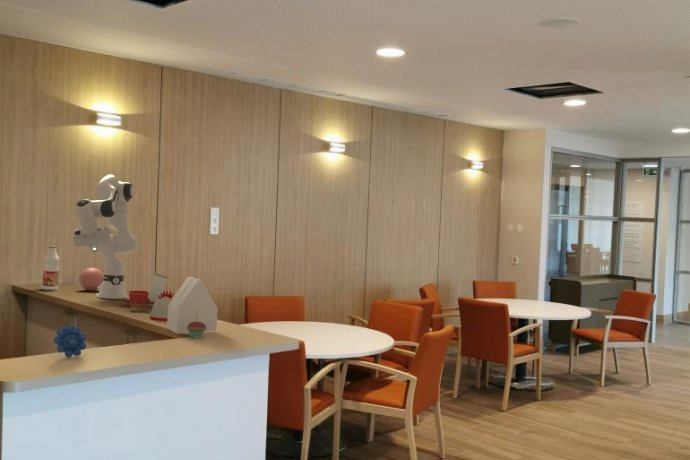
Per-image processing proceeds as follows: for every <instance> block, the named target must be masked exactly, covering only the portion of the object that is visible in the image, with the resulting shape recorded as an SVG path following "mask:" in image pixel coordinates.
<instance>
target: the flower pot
mask: <svg viewBox="0 0 690 460" xmlns="http://www.w3.org/2000/svg"><path fill="white" fill-rule="evenodd" d="M149 293H150V291H146V290H129V291H128V299H130V306H129V307H130V308H131V304H146V303H147V299H148V297H149Z"/></svg>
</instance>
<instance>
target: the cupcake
mask: <svg viewBox="0 0 690 460" xmlns="http://www.w3.org/2000/svg"><path fill="white" fill-rule="evenodd" d="M187 329H188V330H189V332H190V333H189V336H190V338H191V337H201V338H202V336H203V334H204V333H203V332H204V330H206V325H205V324H204V323H201V322H198V312H196V322H191V323H189V325H188V327H187Z"/></svg>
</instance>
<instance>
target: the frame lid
mask: <svg viewBox="0 0 690 460" xmlns="http://www.w3.org/2000/svg"><path fill="white" fill-rule="evenodd" d="M167 280H168V276H167V275H164V274H160V273H158V272H154V273H153V278H152V280H151V285H150V289H149V294H148V298H149V299H150V300H152V301H154V302H156V301H157V300H158V299H159V298H158V295H159V297H161V293H162V295H163V292H164V291H165V286H166V282H167Z"/></svg>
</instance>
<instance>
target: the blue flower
mask: <svg viewBox="0 0 690 460" xmlns="http://www.w3.org/2000/svg"><path fill="white" fill-rule="evenodd" d="M55 334H56V335H57V336H55V337H54V338H53V343H54V344H55V345H57V347H56V350H57V352H58V353H59V354H60V353H61V354H63V353H64V356H66V357H67V358H70V357H73V355H74V356H77V357H78V356H81V354H82V351H84V350H86V348H87V344H86V342H85V341H86V340H87V336H86V334H85V333H81V329H80V327H79V326H74V327H72V326H71V325H70V324H65V325H64V327H63V328H58V329H57V330H56V333H55Z"/></svg>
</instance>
